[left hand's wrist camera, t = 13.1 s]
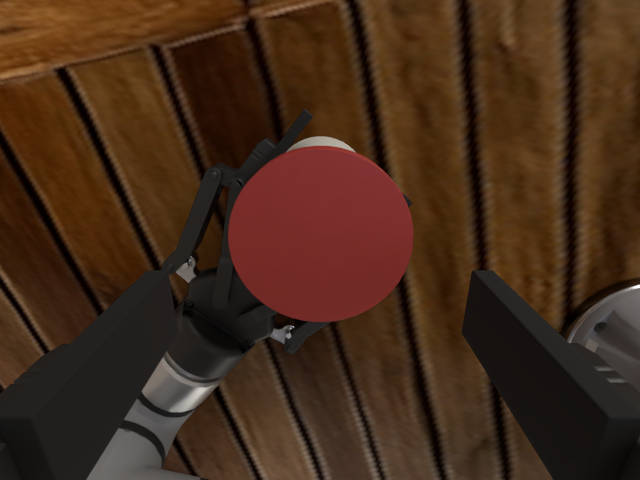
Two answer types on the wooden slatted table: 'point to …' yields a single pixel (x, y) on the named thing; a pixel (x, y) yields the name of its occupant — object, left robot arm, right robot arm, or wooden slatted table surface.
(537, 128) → the wooden slatted table surface
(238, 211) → the lid
